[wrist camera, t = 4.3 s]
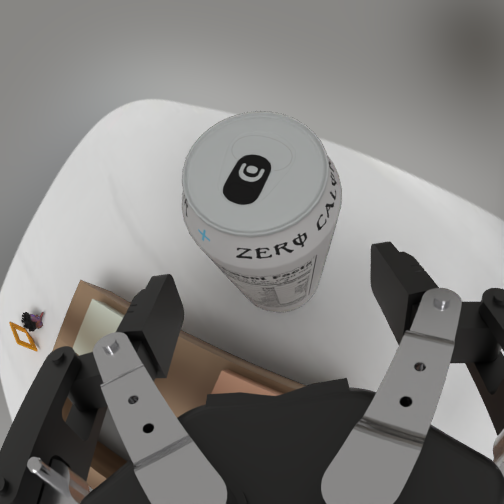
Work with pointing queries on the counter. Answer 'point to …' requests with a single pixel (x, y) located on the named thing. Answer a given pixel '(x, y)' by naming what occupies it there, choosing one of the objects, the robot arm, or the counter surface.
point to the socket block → (171, 388)
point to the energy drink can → (263, 205)
